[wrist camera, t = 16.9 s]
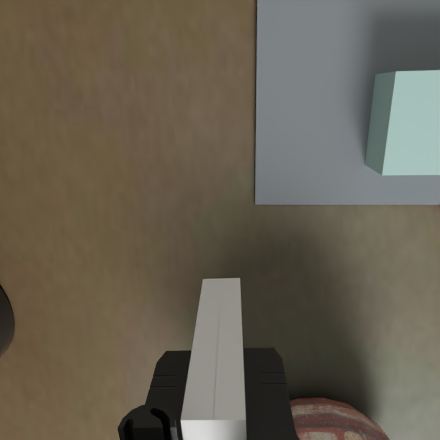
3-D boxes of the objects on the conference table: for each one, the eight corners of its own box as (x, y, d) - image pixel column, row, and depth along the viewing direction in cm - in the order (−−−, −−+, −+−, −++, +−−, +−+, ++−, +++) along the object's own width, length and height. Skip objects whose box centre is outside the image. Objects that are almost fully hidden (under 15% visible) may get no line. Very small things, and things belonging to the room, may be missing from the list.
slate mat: (255, 203, 32) (255, 204, 31) (257, -3, 26) (257, -4, 26) (489, 203, 30) (493, 204, 30) (543, -15, 25) (547, -17, 24)
